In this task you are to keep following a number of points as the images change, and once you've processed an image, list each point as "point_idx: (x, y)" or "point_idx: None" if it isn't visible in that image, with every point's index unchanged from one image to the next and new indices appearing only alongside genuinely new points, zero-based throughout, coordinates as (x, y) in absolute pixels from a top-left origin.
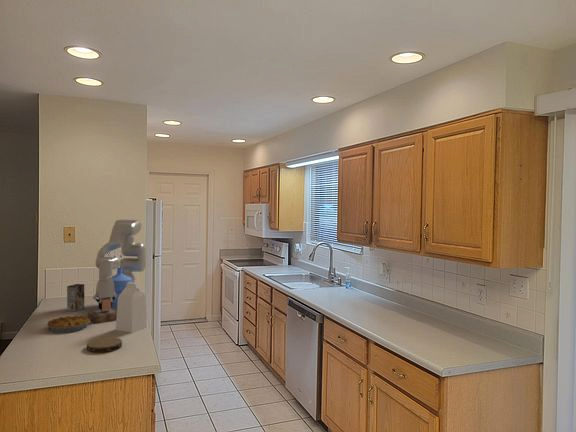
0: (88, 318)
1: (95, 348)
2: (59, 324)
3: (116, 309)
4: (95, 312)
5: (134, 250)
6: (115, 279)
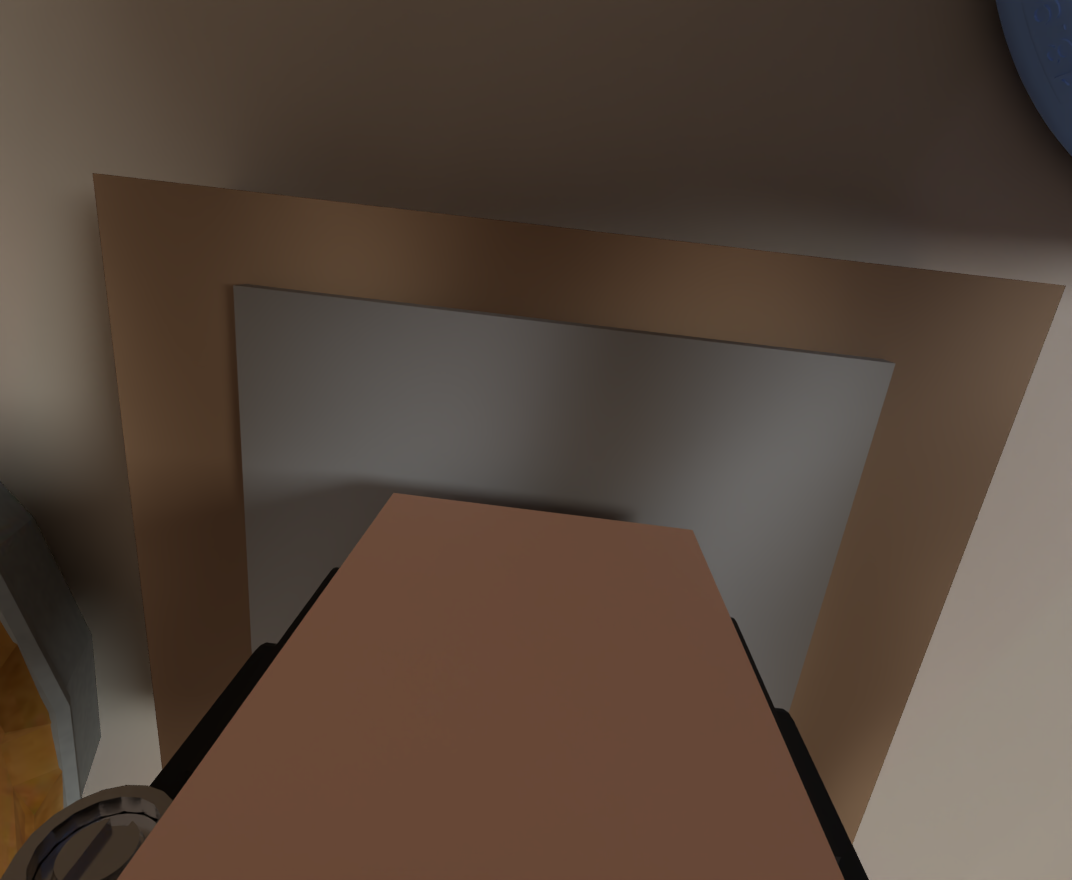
0: (19, 817)
1: None
2: None
3: (964, 512)
4: (251, 525)
5: None
6: None
